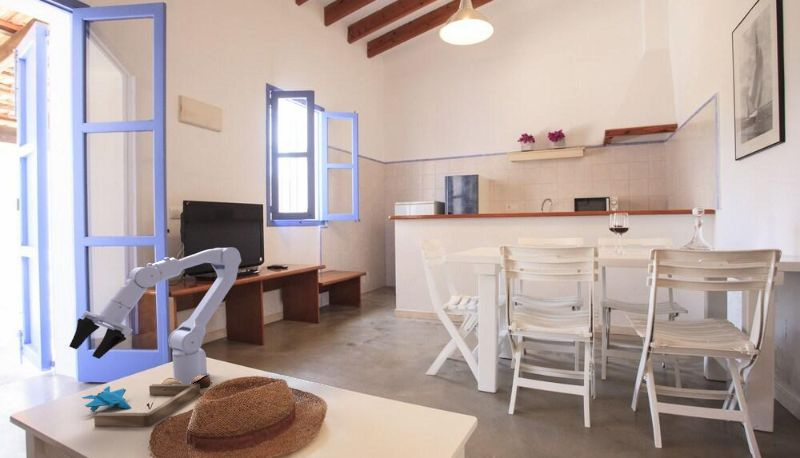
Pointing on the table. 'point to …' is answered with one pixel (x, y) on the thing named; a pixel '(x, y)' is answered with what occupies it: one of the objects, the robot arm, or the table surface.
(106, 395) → the toy airplane
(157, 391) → the brown wooden u shape
